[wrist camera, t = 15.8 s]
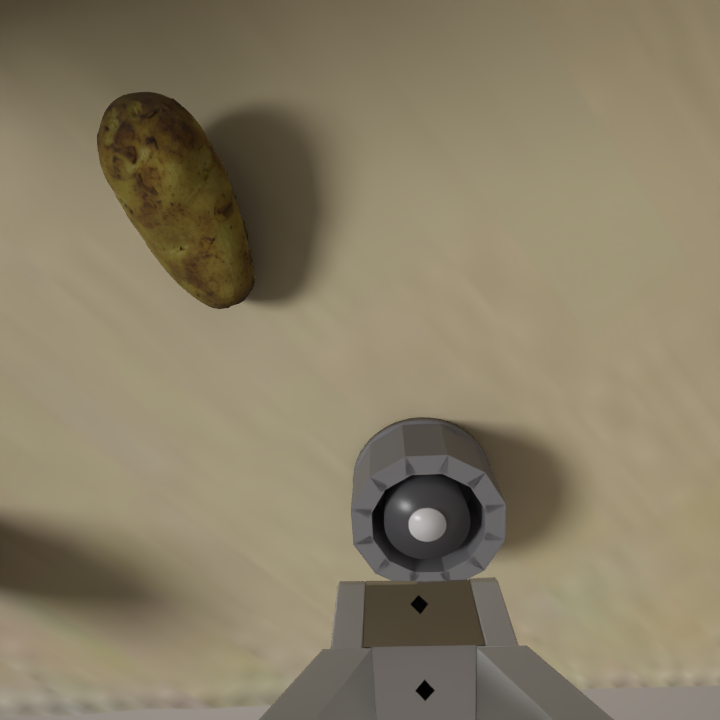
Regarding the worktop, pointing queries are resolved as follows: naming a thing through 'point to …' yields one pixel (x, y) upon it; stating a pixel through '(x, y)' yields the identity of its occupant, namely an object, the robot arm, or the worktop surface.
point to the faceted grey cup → (423, 457)
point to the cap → (426, 516)
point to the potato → (177, 196)
